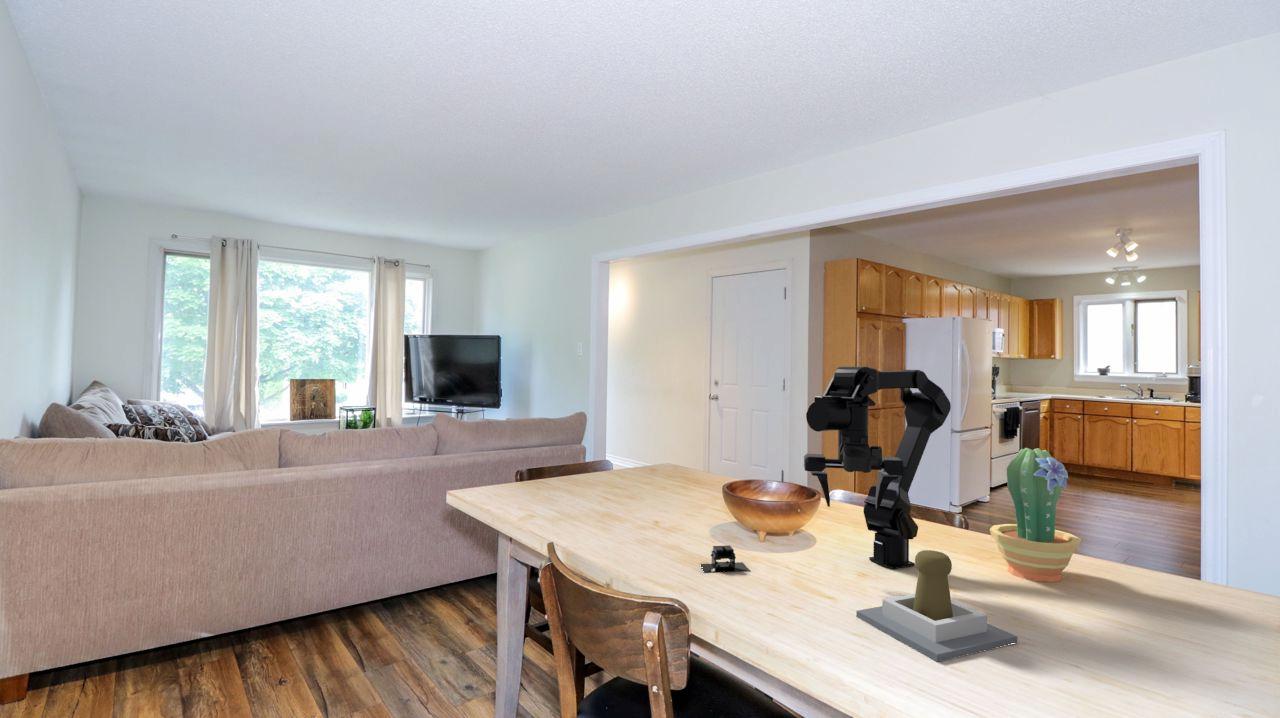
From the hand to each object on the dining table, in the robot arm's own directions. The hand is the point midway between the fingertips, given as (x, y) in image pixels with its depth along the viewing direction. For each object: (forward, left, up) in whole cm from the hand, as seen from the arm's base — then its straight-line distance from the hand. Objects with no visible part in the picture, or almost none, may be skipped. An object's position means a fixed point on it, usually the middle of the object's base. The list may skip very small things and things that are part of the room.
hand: (852, 507), depth 120 cm
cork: (+6, +25, -12) cm, 28 cm away
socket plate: (+6, +25, -13) cm, 29 cm away
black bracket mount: (+22, -12, -14) cm, 29 cm away
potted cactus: (-34, +13, -13) cm, 39 cm away
